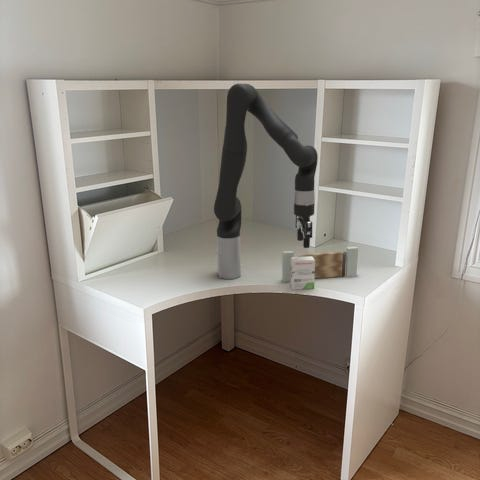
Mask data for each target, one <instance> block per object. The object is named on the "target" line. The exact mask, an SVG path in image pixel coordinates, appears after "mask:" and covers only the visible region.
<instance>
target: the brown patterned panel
mask: <svg viewBox="0 0 480 480" xmlns="http://www.w3.org/2000/svg"><path fill="white" fill-rule="evenodd" d="M306 256H312V257H313V258H314V260H315V278H314V279H323V278H325V279H327V278H335V277H345V276H346V275H345V269H346V251H337V252H333V251H332V252H322V253H321V252H320V253H308V254H305V253H304V254H298V255H297V257H306Z"/></svg>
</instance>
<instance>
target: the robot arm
mask: <svg viewBox="0 0 480 480" xmlns="http://www.w3.org/2000/svg"><path fill="white" fill-rule="evenodd" d="M247 112H248V113H250V114H251V115H253V116H254V117H255V118H256V119H257V120H258V121H259V122H260V124H261V125H262V127H263V129H264V130H265V131H266V133H267V134H268V135H269V137H270V138H271V139H272V140H273V141H274V142H275V143H276V144H277V145H278V146H279V147H280V148H282V150H283V151H284V152H285V154H286V156H287V158H289V160H290V161H291V162H292V163H293V164H294V166H296V167H298V171H297V173H296V174H295V177H294V193H293V214H294V215H295V229H296V235H297V236H296V237H297V238H296V240H297V241H299V242H301V241H303V245H302V246H303V247H302V248H303V249H309V248H310V246H311V245H310V244H311V241H310V240H311V239H312V238H313V221H311V219H310V217H311V216H314V215H315V200H316V197H315V176H316V171H317V167H318V158H319V157H318V152H317V150H316V148H315V147H313V146H312V145H310V144H308V145H303V143H301V142H300V140H299V137H298V134H297V133H296V132H295V131H294V130H293V129H292V128H291V127H290V126H289V125H287V123H286V122H285V121H283V120H282V119H281V118H280V117H279V115H278V114H276V113H275V111H273V109H272V108H271V107H270V106H269V105H268V104H267V102H266V101H265V100H264V98H263V97H262V95H261V94H260V93H259V91H258V90H257V89H256V88H255V87H254V86H253V85H251V84H249V83H235V84H233V85H231V87H230V88H229V89H228V91H227V95H226V119H225V129H224V136H223V144H222V150H221V157H220V168H219V179H218V187H217V188H218V189H217V192H216V196H215V201H214V204H213V205H214V206H213V212H214V213H213V214H214V215H215V217H216V219H218V224H217V228H216V242H217V243H216V244H217V245H216V246H217V247H216V248H217V251H216V263H217V268H216V269H217V276H218V279H224V280H234V279H238V278H239V277H240V276H241V275H242V273H241V272H242V271H241V268H242V266H241V227H242V204H241V203H242V202H241V201H240V199H239V197H237V193H238V187H239V183H240V181H241V178H242V175H243V172H244V169H245V165H246V162H247V161H246V160H247V156H248V155H247V153H248V141H247V135H246V130H245V122H246V116H247Z"/></svg>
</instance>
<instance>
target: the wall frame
mask: <svg viewBox="0 0 480 480" xmlns="http://www.w3.org/2000/svg"><path fill="white" fill-rule="evenodd" d="M345 252H346V266H345V276H346V278H350V277H357V275H358V274H357V271H358V258H359V255H358V254H359V247H357V246H347V247H346V251H345ZM294 254H295V252H294V251H293V250H286V251H284V250H283V251H282V257H281V258H282V261H281V262H282V263H281V264H282V266H281V267H282V268H281V269H282V270H281V271H282V274H281V280H282V282H283V283H287V282H291V257H295V255H294Z"/></svg>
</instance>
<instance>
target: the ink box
mask: <svg viewBox="0 0 480 480" xmlns="http://www.w3.org/2000/svg"><path fill="white" fill-rule="evenodd" d="M315 279H316V278H315V260H314V258H313V257H312V256H306V257H298V256H294V257H291V281H290V287H291V289H292V290H312V289H315Z"/></svg>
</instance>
